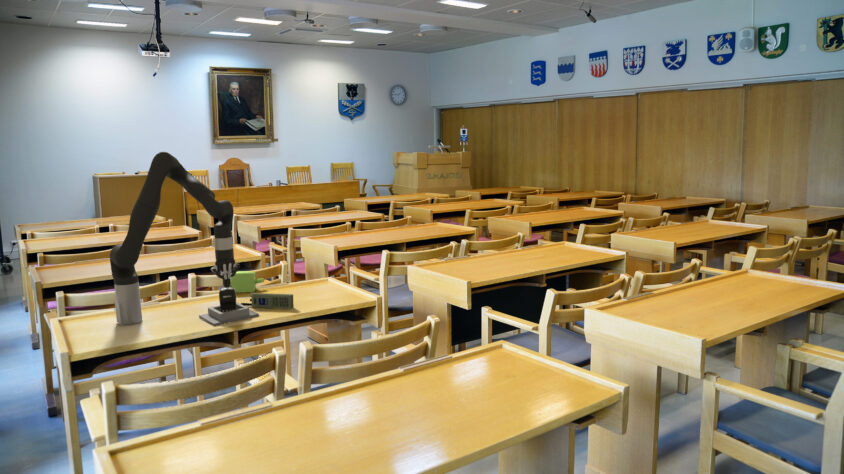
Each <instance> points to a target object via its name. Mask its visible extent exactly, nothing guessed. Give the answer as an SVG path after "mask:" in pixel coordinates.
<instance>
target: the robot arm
mask: <svg viewBox="0 0 844 474" xmlns="http://www.w3.org/2000/svg"><path fill="white" fill-rule="evenodd" d="M146 175H147V176H146V178H145V180H144V183H143V185H142V188H141V190H140V192H139V195H138V196H137V199H136V201H135V202H134V205H133V207H132V210H131V213H130V217H129V223H128V230H127V234H126V235H125V238H124V240H123V242H122V243H121V244H120V243H119V244H117V245H115V246H113V247H112V249H110V253H109V262H110V270H111V275H112V279H113V283H114V293H115V301H114V308H115V316H116V318H115V319H116V323H117V322H118V323H119V324H118V323H117V324H118V325H119V326H121V325H122V326H132V325H136V324H139V323H141V322H143V314H142V313H143V312H142V304H141V293H140V284H139V275H138V273H137V270H136V268H135V265H136V264H137V263H138V260H139V258H140V255H141V251H142V248H143V245H144V242H145V240H146V238H147V236H148V233H149V231H150V228H151V227H152V224H153V222H154V220H155V219H156V216H157V213H158V211H159V209H160V206H161V197H162V188H163V187H162V186H163V184H164V182H165V180H166V178H169V179H171V180H172V181H174V182H175V183H177V184H178V185H180V186H181V187H182V188H183V189H185V191H186V192H187V193H188V194H189V195H190V196H191V197H192V198H193V199H194V200H196V201H197V202H198V203H199V204H201V206H202V207H203V208H204V209H205V211H206V212H207V213H208V215H209V216H210V217H212V218H214V219H218V222H216V223H215V225H214V226H213V233H214V234H213V235H214V241H213V242H214V253H215V254H214V255H215V262H214V266H213V267H210V271H211V272H212V274H214V275H215V276H216V277H217V278H219V279H221V280H222V286H223V287H224V288H231V286H232V284H231V282H230V279H231V277H234V276H235V274H236V272H238V271H239V268H241V264H240V263H237V262H236V260H235V252H234V241H233V235H232V232H233V231H232V225H233V218H234V210H235V209H234V206H233V204H232V203H231V201H230V200H227V199H223V200H216V194H215V192H214V191H212V190H211V189H210V188H209V187H208V186H207V185H205V183H203V182H202V181H200V180H199V179H197V178H196V177H195V176H194V175H192V174H191V173H190V172H189V171H187V169H186V168H185V166H183V165H182V164H181V162H179V160H178V159H177V157H175V156H174V155H173V154H171V153H169V152H167V151H160V152H158V153H157V154H155V155H154V157H153V158H152V160H151V163H150V165H149V169H148V172H147V174H146ZM218 270H219V271H220V272H219V271H218Z"/></svg>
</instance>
